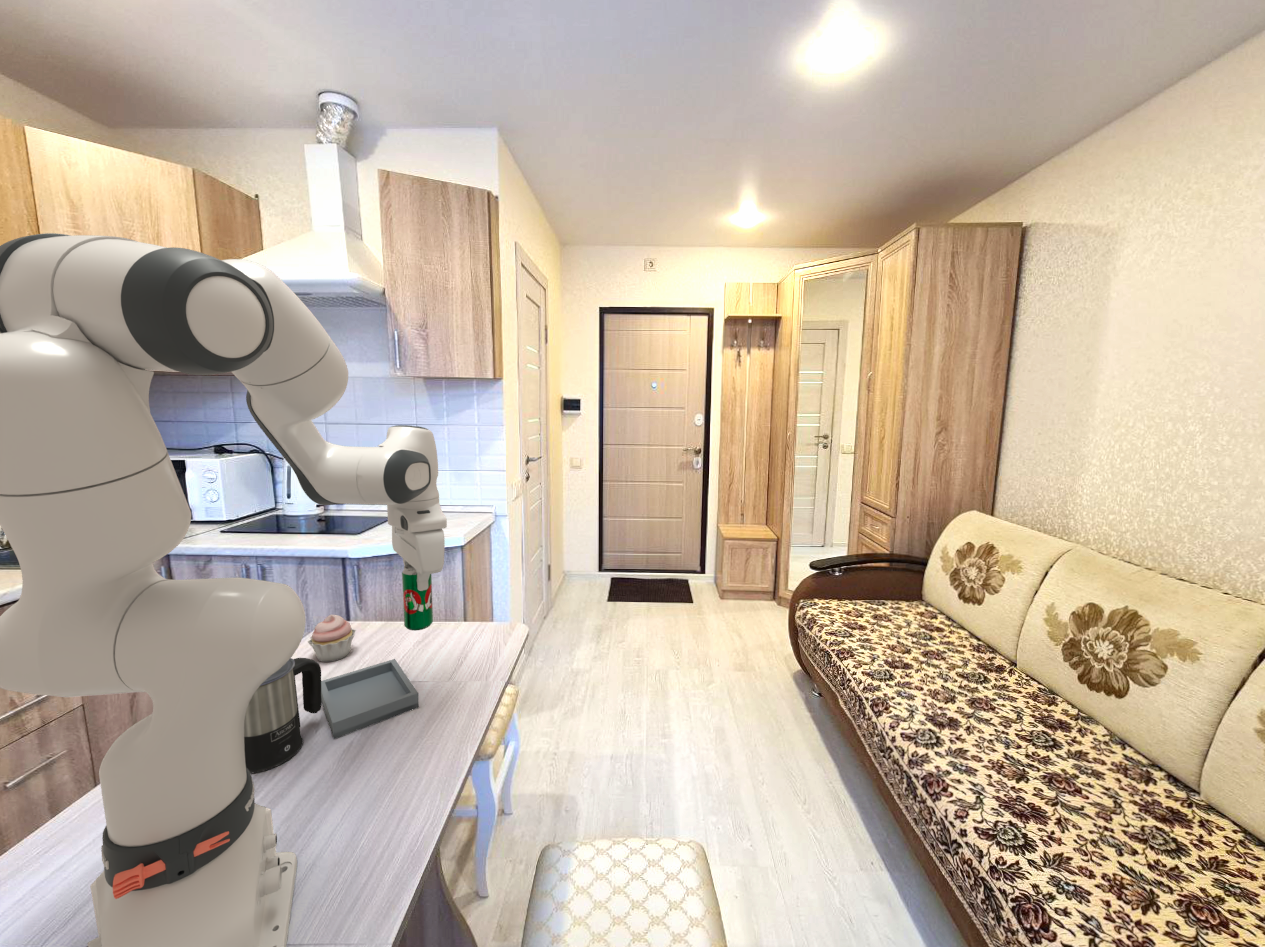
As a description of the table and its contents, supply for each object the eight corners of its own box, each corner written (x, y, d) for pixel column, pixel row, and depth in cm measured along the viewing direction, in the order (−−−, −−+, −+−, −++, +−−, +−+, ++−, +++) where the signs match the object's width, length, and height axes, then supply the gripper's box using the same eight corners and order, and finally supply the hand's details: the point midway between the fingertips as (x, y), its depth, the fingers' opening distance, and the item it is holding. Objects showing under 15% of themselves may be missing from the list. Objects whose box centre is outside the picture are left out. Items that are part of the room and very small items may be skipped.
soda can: (427, 617, 95) (424, 559, 94) (437, 626, 92) (435, 565, 90) (400, 625, 92) (397, 565, 90) (410, 634, 88) (407, 571, 86)
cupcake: (300, 667, 104) (297, 624, 103) (321, 646, 113) (318, 606, 112) (347, 665, 106) (344, 622, 104) (363, 644, 115) (361, 604, 113)
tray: (418, 707, 91) (418, 692, 91) (333, 739, 82) (332, 723, 82) (395, 671, 103) (394, 658, 103) (319, 696, 94) (318, 682, 94)
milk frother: (274, 776, 74) (266, 688, 72) (174, 773, 74) (163, 685, 72) (333, 717, 88) (327, 642, 86) (249, 715, 88) (241, 639, 86)
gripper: (381, 505, 95) (385, 573, 96) (411, 525, 79) (415, 605, 81) (415, 502, 99) (418, 567, 100) (450, 520, 83) (452, 596, 85)
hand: (417, 584), depth 90 cm, fingers closed on soda can, 5 cm apart
